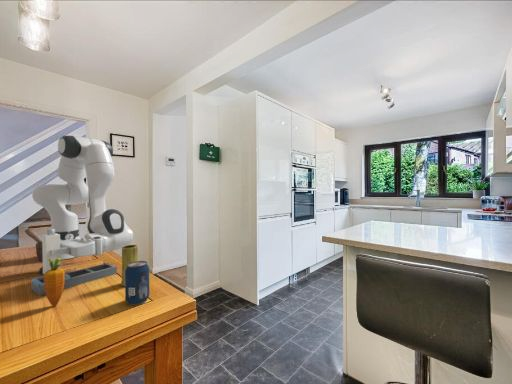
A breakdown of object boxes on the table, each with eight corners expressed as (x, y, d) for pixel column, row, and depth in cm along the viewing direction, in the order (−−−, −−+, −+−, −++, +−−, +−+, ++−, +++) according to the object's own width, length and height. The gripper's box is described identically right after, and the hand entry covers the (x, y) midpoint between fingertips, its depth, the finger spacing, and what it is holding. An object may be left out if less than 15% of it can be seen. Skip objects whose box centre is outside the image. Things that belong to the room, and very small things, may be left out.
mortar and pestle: (28, 278, 94) (28, 229, 94) (24, 274, 100) (23, 227, 99) (64, 270, 104) (64, 225, 104) (58, 266, 109) (58, 224, 109)
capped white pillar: (42, 273, 84) (42, 229, 84) (56, 270, 88) (56, 228, 88) (46, 275, 82) (45, 230, 82) (60, 272, 85) (59, 228, 85)
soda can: (133, 295, 78) (132, 260, 78) (153, 295, 78) (153, 260, 78) (120, 305, 72) (120, 267, 71) (142, 306, 71) (142, 267, 71)
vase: (131, 287, 85) (131, 248, 85) (116, 286, 86) (116, 247, 86) (142, 281, 91) (142, 244, 91) (129, 279, 92) (128, 244, 92)
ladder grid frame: (30, 289, 84) (30, 279, 84) (106, 269, 105) (106, 261, 105) (38, 295, 79) (38, 284, 79) (116, 273, 99) (116, 264, 99)
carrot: (43, 306, 71) (42, 257, 71) (63, 300, 75) (63, 254, 75) (45, 312, 68) (44, 261, 68) (66, 305, 72) (66, 257, 72)
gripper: (81, 234, 101) (39, 239, 90) (103, 239, 90) (58, 246, 78) (81, 248, 101) (39, 256, 90) (103, 255, 90) (58, 265, 78)
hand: (48, 251), depth 84 cm, fingers closed on capped white pillar, 4 cm apart
